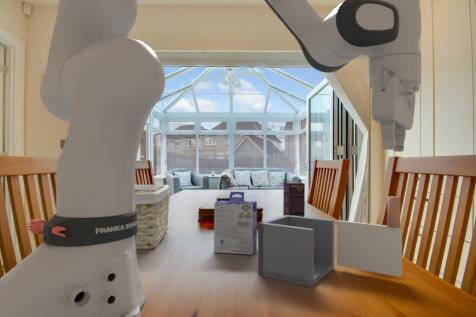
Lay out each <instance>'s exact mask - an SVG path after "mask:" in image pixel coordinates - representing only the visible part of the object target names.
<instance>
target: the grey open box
mask: <svg viewBox="0 0 476 317" xmlns="http://www.w3.org/2000/svg"><path fill="white" fill-rule="evenodd" d="M333 270H335V220H334V219H328V218H327V219H324V218H315V217H308V216H307V217H306V216H304V217H300V216H290V215H284V216H283V215H281V216H278V217H274V218H272V219H267V220H264V221H262V222H257V275H258V276H263V277H268V278H272V279H275V280H280V281H285V282H289V283H293V284H297V285H302V286H306V287H309V288H312V287H313V286H315V285H316V284H317V283H318V282H320V280H322V279H323V278H324V277H326V276H327V275H328V274H329V273H331V272H332V271H333Z"/></svg>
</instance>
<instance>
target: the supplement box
mask: <svg viewBox="0 0 476 317" xmlns="http://www.w3.org/2000/svg"><path fill="white" fill-rule="evenodd" d="M305 184H306V183H304V182H299V181H283V201H282V202H283V205H282V206H283V210H282V211H283V213H282V214H283V215H282V216H284V215H290V216H300V217H305V209H306V208H305V206H306V205H305V204H306V201H305V198H306V196H305V193H306V192H305V190H306V186H305Z"/></svg>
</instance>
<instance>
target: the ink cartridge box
mask: <svg viewBox="0 0 476 317" xmlns="http://www.w3.org/2000/svg"><path fill="white" fill-rule="evenodd" d="M235 195H239V196H235ZM234 196H235V197H234ZM240 196H241V197H240ZM213 208H214V209H213V210H214V211H213V213H214V214H213V216H214V217H213V219H214V221H213V223H214V224H213V226H214V227H213V231H214V232H213V233H214V234H213V253H216V254H217V253H219V254H220V253H221V254H236V255H248V256H252V255H254V254H255V252H257V251H258V203H257V201H255V200H254V201H251V200H248V201H247V200H245V191H230V194H229V198H228V200H218V201H217V202H215V203H214V206H213Z"/></svg>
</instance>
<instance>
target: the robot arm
mask: <svg viewBox="0 0 476 317" xmlns="http://www.w3.org/2000/svg"><path fill="white" fill-rule="evenodd" d="M263 1H264V2H265V3H266V5H267V6H268V7H269V8H270V10H271V11H272V12H273V13H274V14H275V15H276V16H277V18H278V20H280V22H281V23H282V24H283V25H284V27H285V28H286V29H287V30H288V31H289V32H290V34H291V35H292V36H293V37H294V39H295V40H296V42H297V43H298V45H299V47H300V49H301V52H302V53H303V56H304V58H305V60H306V62H307V63H308V64H309V65H310V66H311V67H312V68H313V69H314V70H316V71H318V72H321V73H335V72H337V71H339V70H341V69H342V68H344V67H345V66H346V65H347V64H349V63H350V62H351V61H353V60H355V59H357V58H358V57H360V56H366V57H368V88H369V89H370V90H372V92H371V94H372V96H371V118H372V121H374V122H376V123H378V124H379V125H380V129H379V130H380V135H381V138H382V148H383V150H385V151H392V150H393V151H394V152H395V153H397V152H399V153H403V152H404V150H405V139H406V135H407V131H410V130H412V128H413V124H414V117H415V106H416V93H418V92H419V91H420V85H421V84H422V54H421V50H420V45H419V44H420V40H421V37H422V11H421V3H420V0H344V1H342V2H341V3H339V5H337V6H336V7H335V8H334V9H333V10H332V11H331V12H330V13H329V14H328V15H327V16H326V18H325V17H324V18H323V17H321V16H320V15H319V14H318V13H317V11H315V9H314V8H313V7H312V5H311V4H310V3H309V2H308V0H263ZM137 16H138V0H58V5H57V13H56V18H55V22H54V27H53V30H52V36H51V39H50V46H49V50H48V54H47V56H48V57H47V62H46V67H45V71H44V75H43V77H42V80H41V82H40V85H39V95H40V100H41V102H42V104H43V105H44V107H45V109H46V111H47V112H49V113H50V114H51V115H52V116H53V117H55V118H57V119H59V120H61V121H64V122H67V123H69V124H68V128H67V132H66V133H67V134H66V136H65V140H64V145H63V147H62V149H61V152H60V154H59V155H58V158H57V161H56V180H55V182H56V184H55V185H56V188H55V189H56V190H55V193H56V195H55V198H56V203H55V204H56V205H55V206H56V207H55V208H56V210H55V212H56V213H55V214H54V215H53V216H51V218H50V219H49V220H48V221H46V220H43V219H40V218H34V219H31V220H30V221H29V223H27V230H28V231H29V232H30V233H32V234H36V235H42V243H40V244H39V245H38V246H37V247H36V248H35V249H34V250H33V251H32V252H30V253H29V254H28V255H27V256H26V257H24V258H23V259H22V260H21V261H20V262H19V263H17V264H16V265H15V266H14V267H12V268H11V269H10V270H9V271H8V272H6V273H5V274H4V275H2V276H1V277H0V317H141V308H142V306H143V305H144V303H145V301H146V296H145V293H144V289H143V285H142V282H141V278H140V272H139V271H140V270H139V265H138V258H137V249H136V243H135V240H136V236H137V232H138V217H137V211H136V210H135V185H136V170H137V168H136V166H137V158H138V152H139V148H140V145H141V144H140V143H141V140H142V137H143V134H144V130H145V127H146V124H147V121H148V118H149V116H150V114H151V112H152V111H153V109H154V107H155V106H156V104H157V103H158V102H159V101H160V99H161V98H162V96H163V94H164V91H165V87H166V75H165V74H166V73H165V71H164V67H163V64H162V62H161V60H160V58H159V57H158V55H157V53H155V50H153V49H152V48H151V47H150V46H148V45H147V43H144V42H143V41H141V40H138V39H134V38H129V34H130V32H131V31H132V29H133V27H134V26H135V23H136V20H137Z"/></svg>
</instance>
